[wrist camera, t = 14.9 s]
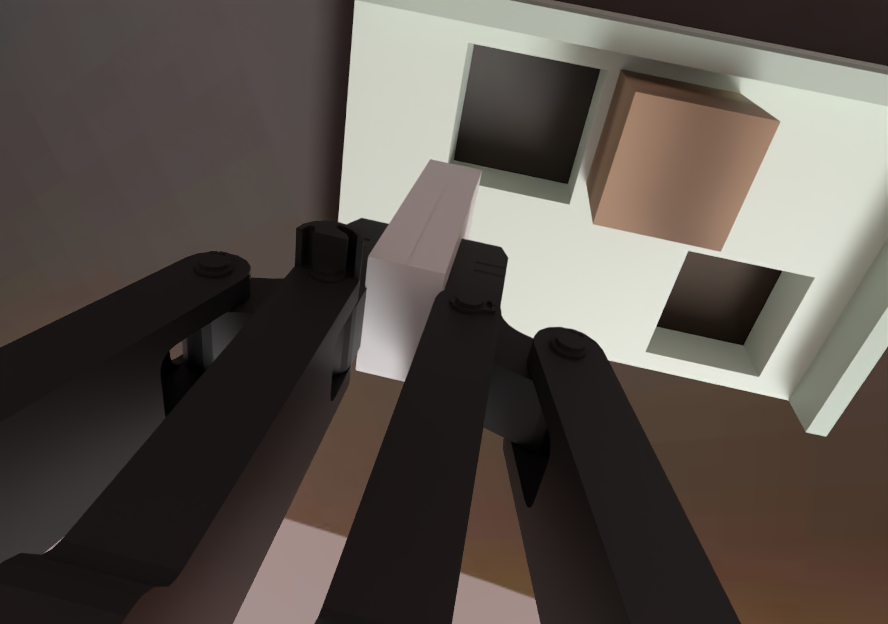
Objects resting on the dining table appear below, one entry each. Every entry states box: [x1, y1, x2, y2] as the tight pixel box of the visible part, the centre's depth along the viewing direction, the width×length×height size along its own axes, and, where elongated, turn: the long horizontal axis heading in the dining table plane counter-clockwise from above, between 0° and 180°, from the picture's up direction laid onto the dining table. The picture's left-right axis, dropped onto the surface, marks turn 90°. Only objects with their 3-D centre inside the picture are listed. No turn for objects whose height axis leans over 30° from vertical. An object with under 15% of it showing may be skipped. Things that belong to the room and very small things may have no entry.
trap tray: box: [338, 0, 888, 436], centre depth 28 cm, size 26×16×6 cm, turn 81°
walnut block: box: [586, 69, 781, 252], centre depth 24 cm, size 5×5×5 cm
